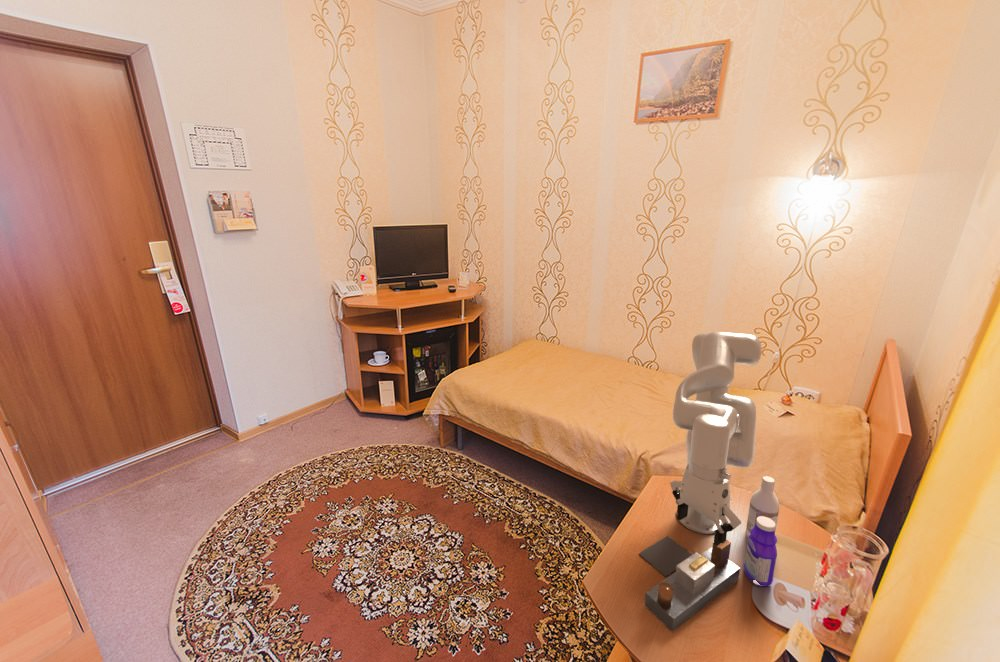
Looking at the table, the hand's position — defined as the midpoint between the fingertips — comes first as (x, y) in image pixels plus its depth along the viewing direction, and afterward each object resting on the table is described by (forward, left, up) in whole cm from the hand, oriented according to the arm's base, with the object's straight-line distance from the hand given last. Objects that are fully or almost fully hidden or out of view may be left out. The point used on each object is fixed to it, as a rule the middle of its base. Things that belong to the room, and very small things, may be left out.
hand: (699, 529), depth 98 cm
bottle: (-18, +6, -20) cm, 27 cm away
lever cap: (0, 0, -15) cm, 15 cm away
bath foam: (-32, -1, -20) cm, 38 cm away
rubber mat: (-4, -11, -19) cm, 23 cm away
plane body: (0, 0, -19) cm, 19 cm away
